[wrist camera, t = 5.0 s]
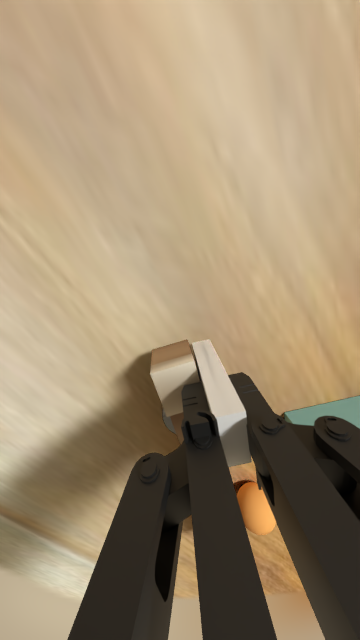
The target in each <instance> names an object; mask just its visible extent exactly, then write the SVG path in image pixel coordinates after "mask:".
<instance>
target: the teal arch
mask: <svg viewBox="0 0 360 640" xmlns="http://www.w3.org/2000/svg"><path fill="white" fill-rule="evenodd" d="M321 416H336V417H339V418H343V419H344V420H346V421H348V422H350V423H352V424H353V425H355V426H356V427H358V428H359V429H360V396H356V397H352V398H347V399H343V400H338V401H334V402H329V403H325V404H320V405H316V406H311V407H307V408H302V409H298V410H294V411H289V412H285V413H284V417H285V421H286V422H289V423H292V424H299V425H312V426H314V422H315V420H316V419H317V418H318V417H321Z"/></svg>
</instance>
